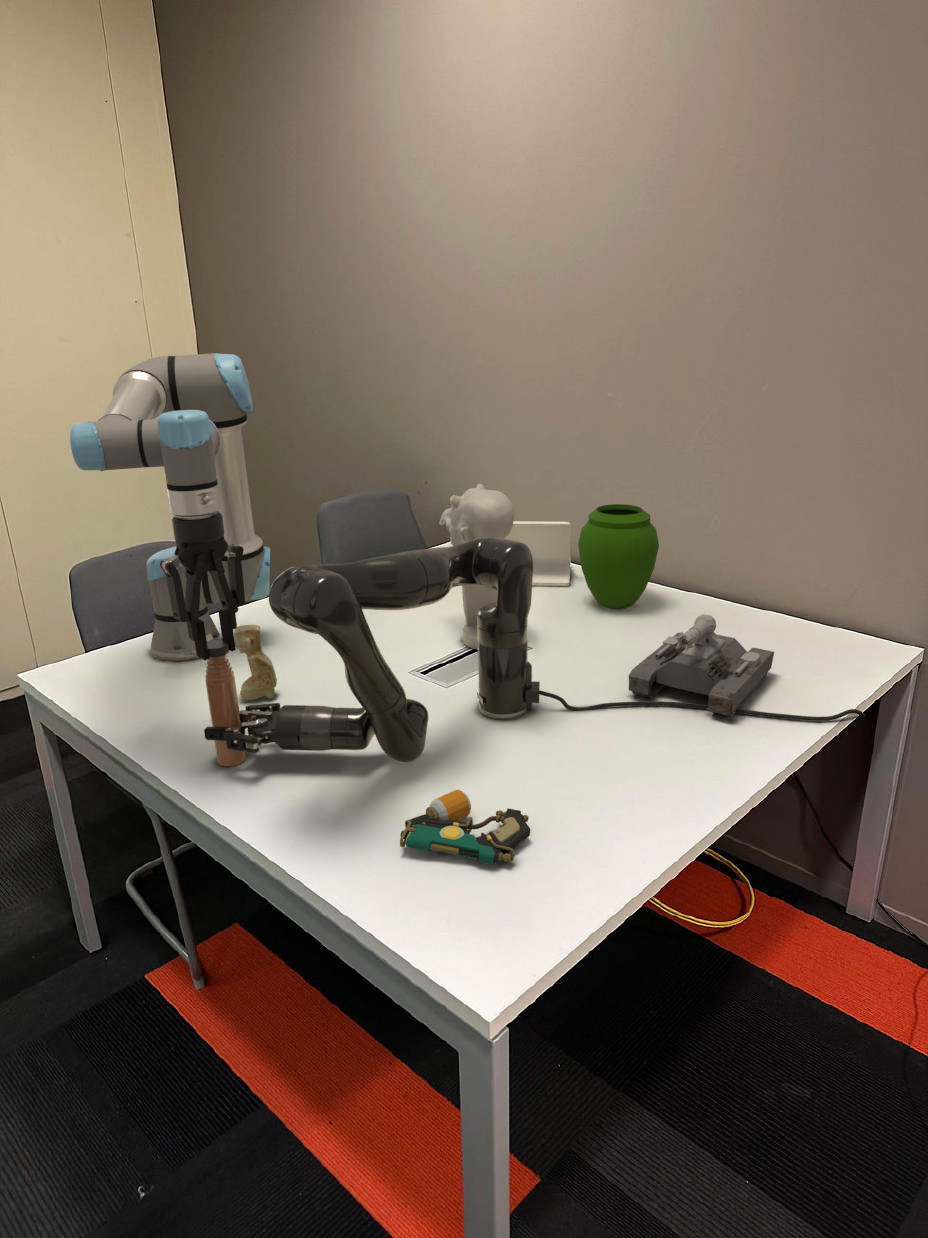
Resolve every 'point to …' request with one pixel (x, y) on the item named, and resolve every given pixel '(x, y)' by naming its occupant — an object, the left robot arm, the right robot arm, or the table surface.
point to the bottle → (223, 706)
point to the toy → (703, 667)
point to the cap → (217, 648)
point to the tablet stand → (546, 550)
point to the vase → (618, 554)
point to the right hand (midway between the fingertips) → (211, 725)
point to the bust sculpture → (470, 521)
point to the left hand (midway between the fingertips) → (216, 652)
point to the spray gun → (464, 831)
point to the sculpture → (255, 664)
